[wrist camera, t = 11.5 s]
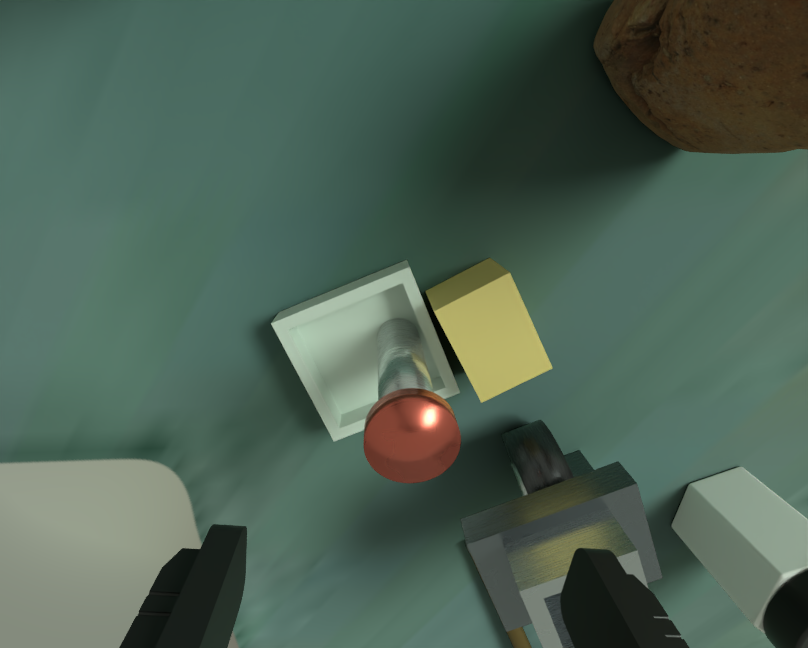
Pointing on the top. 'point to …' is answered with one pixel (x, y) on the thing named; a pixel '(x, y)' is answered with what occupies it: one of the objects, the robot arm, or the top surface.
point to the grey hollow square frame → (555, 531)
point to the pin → (408, 412)
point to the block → (712, 71)
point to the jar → (751, 550)
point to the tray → (356, 344)
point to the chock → (489, 328)
